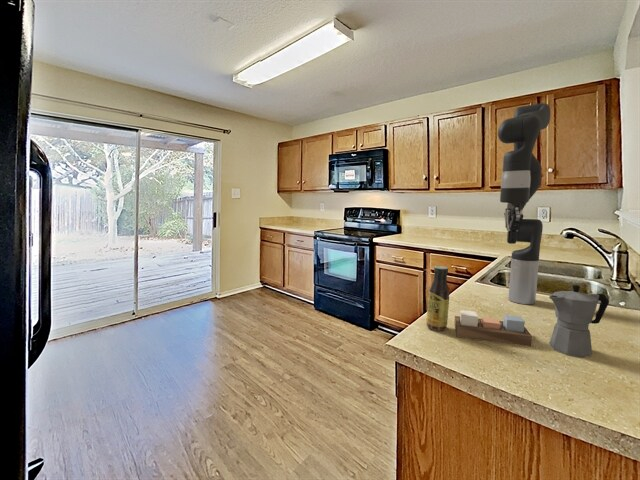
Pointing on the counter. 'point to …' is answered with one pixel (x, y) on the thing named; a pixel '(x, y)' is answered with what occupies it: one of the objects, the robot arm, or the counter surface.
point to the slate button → (513, 323)
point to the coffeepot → (575, 321)
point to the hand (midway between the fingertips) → (511, 243)
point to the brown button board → (492, 334)
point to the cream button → (468, 318)
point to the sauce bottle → (438, 300)
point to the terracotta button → (490, 323)
